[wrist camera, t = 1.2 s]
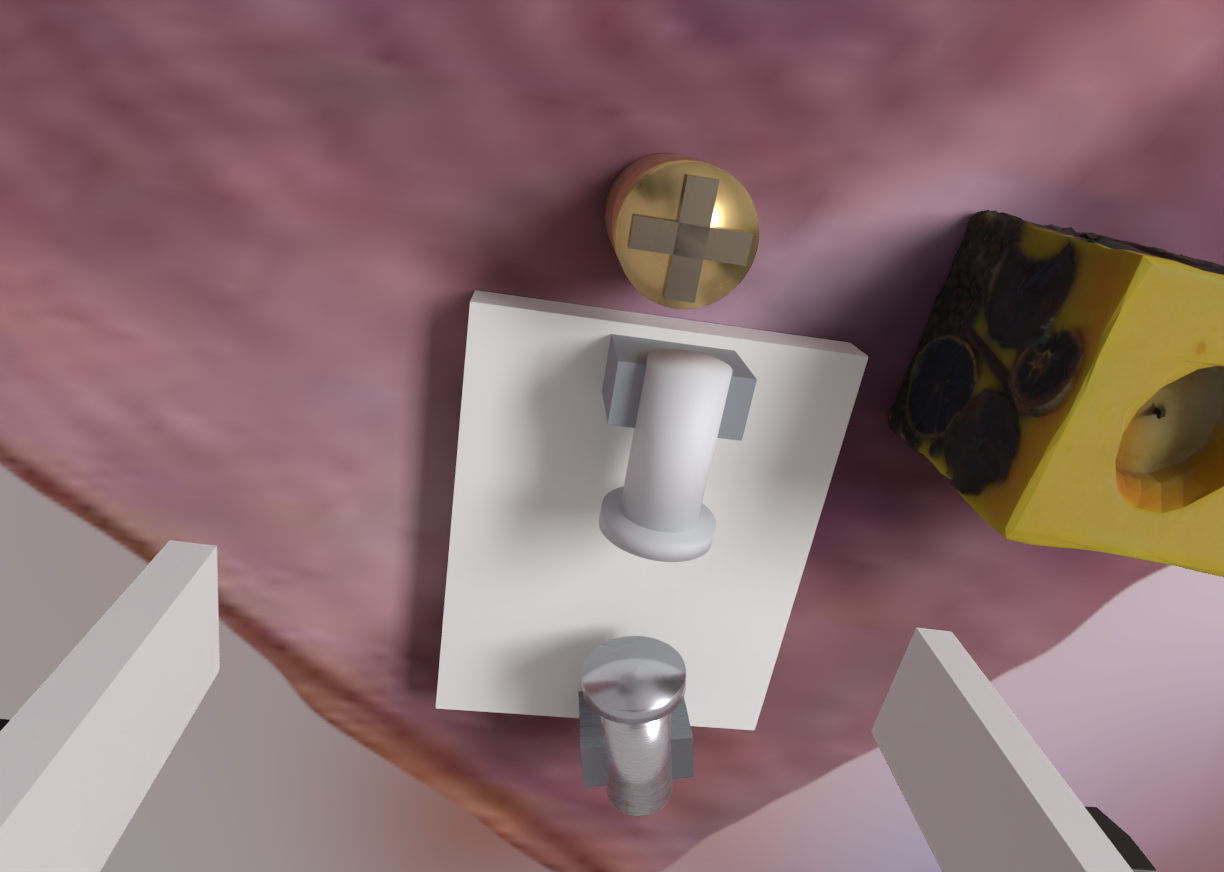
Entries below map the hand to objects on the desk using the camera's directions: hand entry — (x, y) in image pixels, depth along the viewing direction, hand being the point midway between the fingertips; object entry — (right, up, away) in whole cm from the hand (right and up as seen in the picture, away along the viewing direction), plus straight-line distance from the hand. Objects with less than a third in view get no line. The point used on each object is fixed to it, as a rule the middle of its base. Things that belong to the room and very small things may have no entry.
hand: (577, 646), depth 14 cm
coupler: (+3, +13, +15) cm, 20 cm away
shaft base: (+1, 0, +21) cm, 21 cm away
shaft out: (+1, -8, +22) cm, 23 cm away
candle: (+19, +8, +19) cm, 28 cm away
